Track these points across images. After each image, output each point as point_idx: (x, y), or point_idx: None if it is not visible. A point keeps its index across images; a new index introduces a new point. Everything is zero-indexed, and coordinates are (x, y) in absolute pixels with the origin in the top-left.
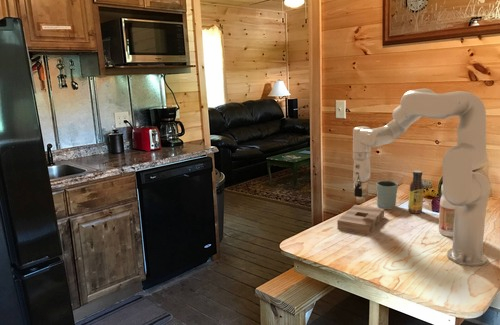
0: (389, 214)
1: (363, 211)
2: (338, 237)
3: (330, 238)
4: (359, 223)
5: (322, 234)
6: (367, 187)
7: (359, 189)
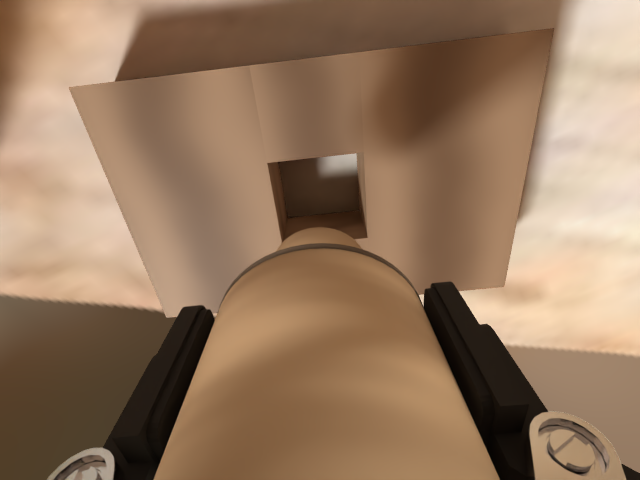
0: (28, 66)
1: (251, 216)
2: (611, 193)
3: (634, 223)
4: (527, 128)
5: (584, 279)
6: (333, 347)
7: (539, 410)
